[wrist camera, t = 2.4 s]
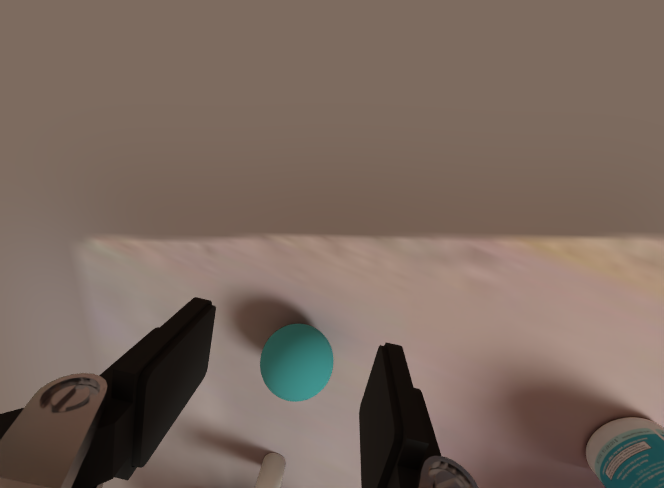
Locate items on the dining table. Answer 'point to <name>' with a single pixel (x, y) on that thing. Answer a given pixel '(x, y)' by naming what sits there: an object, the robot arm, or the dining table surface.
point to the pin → (271, 471)
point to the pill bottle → (628, 453)
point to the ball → (296, 362)
